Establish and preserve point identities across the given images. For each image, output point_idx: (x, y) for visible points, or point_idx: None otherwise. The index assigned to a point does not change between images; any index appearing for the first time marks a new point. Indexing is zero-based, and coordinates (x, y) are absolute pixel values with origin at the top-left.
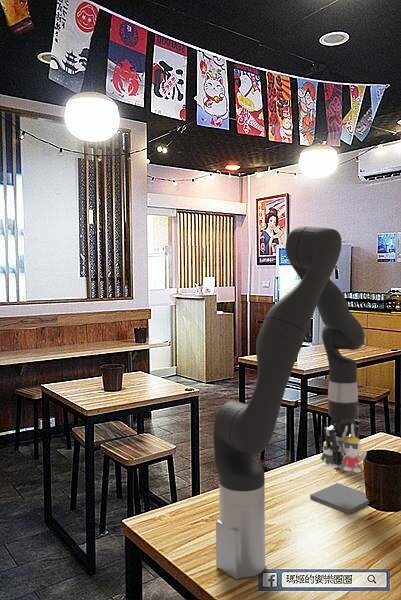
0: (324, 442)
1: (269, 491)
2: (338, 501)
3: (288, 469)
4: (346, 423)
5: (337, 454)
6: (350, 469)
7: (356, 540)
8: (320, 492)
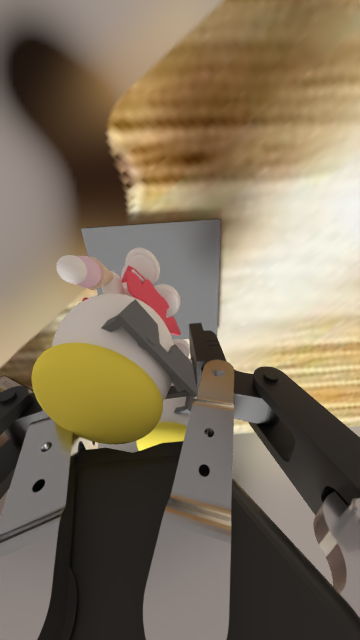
0: None
1: None
2: (196, 274)
3: None
4: None
5: (221, 357)
6: (164, 287)
7: (354, 80)
8: (188, 331)
